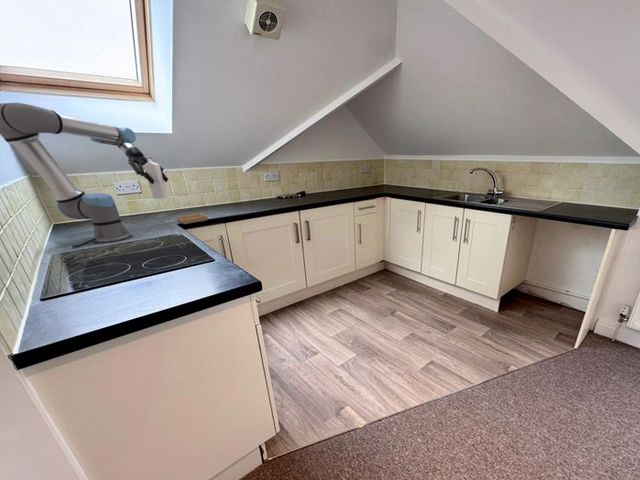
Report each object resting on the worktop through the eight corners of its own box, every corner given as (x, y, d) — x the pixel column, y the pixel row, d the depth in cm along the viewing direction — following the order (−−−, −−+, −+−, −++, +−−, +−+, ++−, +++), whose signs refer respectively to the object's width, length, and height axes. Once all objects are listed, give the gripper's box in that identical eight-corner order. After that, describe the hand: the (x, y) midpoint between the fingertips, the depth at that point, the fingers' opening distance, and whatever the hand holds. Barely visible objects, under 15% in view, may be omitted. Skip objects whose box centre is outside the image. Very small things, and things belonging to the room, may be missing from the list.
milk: (153, 198, 178) (141, 159, 169) (157, 197, 183) (146, 158, 174) (164, 198, 179) (152, 159, 170) (168, 196, 184) (157, 158, 175)
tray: (184, 224, 186) (182, 220, 185) (177, 221, 194) (176, 217, 193) (207, 220, 195) (206, 216, 194) (200, 217, 204) (199, 213, 203)
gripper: (148, 156, 185) (174, 183, 187) (111, 158, 167) (141, 188, 169) (151, 146, 181) (178, 174, 183) (114, 147, 164) (144, 178, 165)
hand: (160, 181), depth 176 cm, fingers closed on milk, 8 cm apart
